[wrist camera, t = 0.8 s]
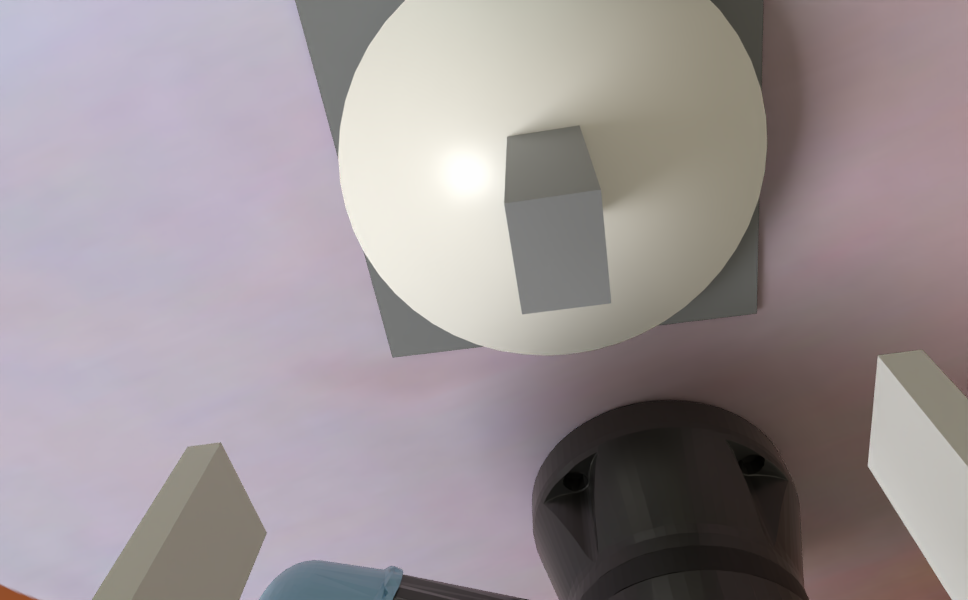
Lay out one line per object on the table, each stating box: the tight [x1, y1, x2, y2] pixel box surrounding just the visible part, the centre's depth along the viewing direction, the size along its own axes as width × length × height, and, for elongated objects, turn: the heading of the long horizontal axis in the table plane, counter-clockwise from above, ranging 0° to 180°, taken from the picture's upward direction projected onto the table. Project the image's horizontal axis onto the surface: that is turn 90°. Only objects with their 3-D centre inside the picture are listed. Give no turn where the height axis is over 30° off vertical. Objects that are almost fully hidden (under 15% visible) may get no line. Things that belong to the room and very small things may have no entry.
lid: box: [338, 0, 767, 356], centre depth 27 cm, size 18×18×10 cm
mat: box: [295, 0, 763, 357], centre depth 31 cm, size 19×19×1 cm
